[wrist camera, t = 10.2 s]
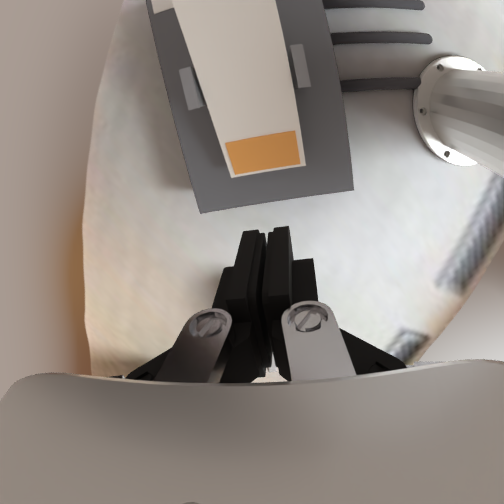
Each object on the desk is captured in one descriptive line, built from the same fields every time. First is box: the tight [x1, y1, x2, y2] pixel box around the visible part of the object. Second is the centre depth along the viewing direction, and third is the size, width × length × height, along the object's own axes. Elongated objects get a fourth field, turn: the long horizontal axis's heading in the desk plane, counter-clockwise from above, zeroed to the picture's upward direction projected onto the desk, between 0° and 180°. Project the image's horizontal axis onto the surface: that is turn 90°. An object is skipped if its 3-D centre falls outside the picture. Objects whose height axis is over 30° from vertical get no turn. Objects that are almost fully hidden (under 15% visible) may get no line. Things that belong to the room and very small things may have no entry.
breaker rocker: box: [172, 0, 306, 178], centre depth 19 cm, size 6×16×1 cm, turn 12°
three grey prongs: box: [322, 0, 432, 92], centre depth 23 cm, size 12×10×1 cm
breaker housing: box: [146, 0, 354, 214], centre depth 22 cm, size 14×22×11 cm, turn 12°
